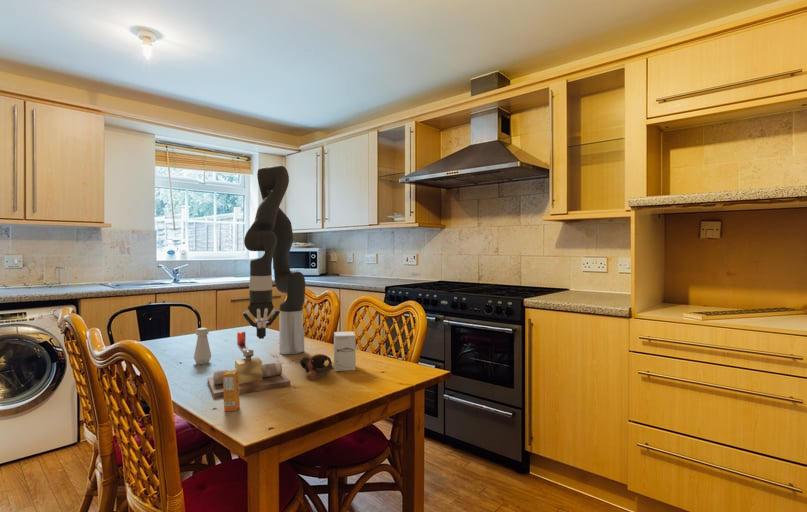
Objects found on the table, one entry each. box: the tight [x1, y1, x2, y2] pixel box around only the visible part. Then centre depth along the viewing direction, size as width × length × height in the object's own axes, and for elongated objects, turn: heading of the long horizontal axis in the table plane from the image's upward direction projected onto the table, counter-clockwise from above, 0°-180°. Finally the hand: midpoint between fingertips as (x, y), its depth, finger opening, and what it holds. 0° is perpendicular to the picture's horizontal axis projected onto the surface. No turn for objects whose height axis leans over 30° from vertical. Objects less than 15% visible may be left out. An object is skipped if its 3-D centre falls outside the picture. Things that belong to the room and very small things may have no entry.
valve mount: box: [206, 356, 291, 399], centre depth 134 cm, size 22×16×9 cm
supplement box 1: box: [223, 371, 241, 412], centre depth 113 cm, size 3×4×10 cm
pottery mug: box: [299, 354, 334, 381], centre depth 143 cm, size 12×10×8 cm
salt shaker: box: [193, 327, 212, 365], centre depth 157 cm, size 6×6×13 cm
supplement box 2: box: [333, 331, 357, 372], centre depth 152 cm, size 7×7×13 cm
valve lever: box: [236, 331, 254, 358], centre depth 139 cm, size 15×3×5 cm, turn 31°
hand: (261, 338), depth 147 cm, fingers closed
